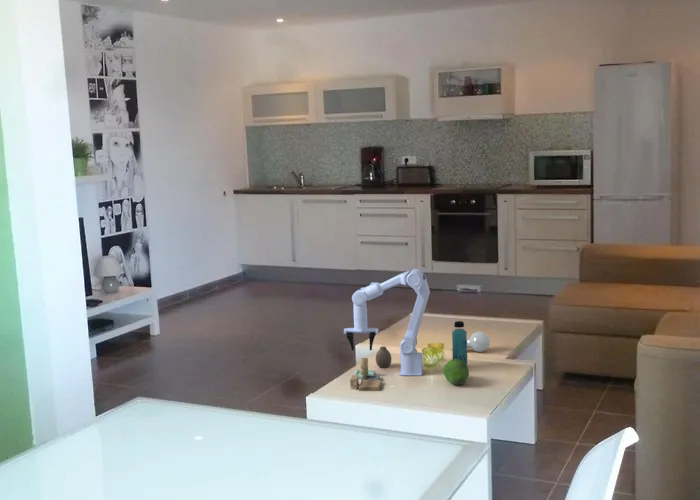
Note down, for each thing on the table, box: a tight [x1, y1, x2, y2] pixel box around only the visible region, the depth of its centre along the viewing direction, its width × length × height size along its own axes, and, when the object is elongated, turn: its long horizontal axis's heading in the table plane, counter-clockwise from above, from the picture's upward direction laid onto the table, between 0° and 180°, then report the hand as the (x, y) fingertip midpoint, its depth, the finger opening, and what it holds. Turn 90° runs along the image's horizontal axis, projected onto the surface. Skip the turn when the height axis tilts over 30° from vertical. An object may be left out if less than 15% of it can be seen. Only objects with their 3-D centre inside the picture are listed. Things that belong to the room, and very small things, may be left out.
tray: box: [353, 369, 376, 380], centre depth 340 cm, size 8×8×2 cm
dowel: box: [359, 357, 369, 375], centre depth 339 cm, size 3×3×7 cm
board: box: [358, 379, 383, 392], centre depth 324 cm, size 8×10×2 cm
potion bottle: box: [467, 331, 491, 353], centre depth 371 cm, size 9×10×15 cm
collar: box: [360, 374, 381, 382], centre depth 333 cm, size 7×7×2 cm
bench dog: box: [349, 374, 360, 390], centre depth 325 cm, size 2×6×4 cm, turn 171°
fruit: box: [443, 358, 470, 385], centre depth 325 cm, size 15×10×10 cm, turn 173°
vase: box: [375, 346, 392, 369], centre depth 353 cm, size 7×7×9 cm
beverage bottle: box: [451, 320, 468, 366], centre depth 346 cm, size 6×7×20 cm
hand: (361, 349), depth 344 cm, fingers open, 7 cm apart
